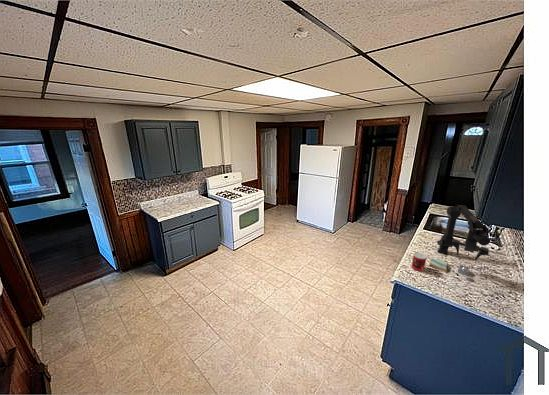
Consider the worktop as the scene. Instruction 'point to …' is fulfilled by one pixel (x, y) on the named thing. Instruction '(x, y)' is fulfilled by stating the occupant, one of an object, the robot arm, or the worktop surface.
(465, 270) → the housing
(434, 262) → the stand
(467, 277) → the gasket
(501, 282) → the worktop surface
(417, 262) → the canned food
